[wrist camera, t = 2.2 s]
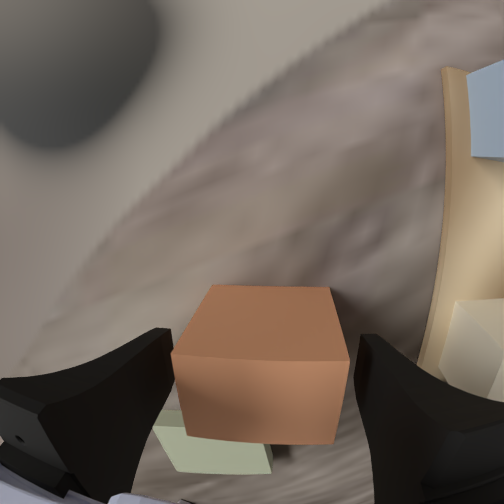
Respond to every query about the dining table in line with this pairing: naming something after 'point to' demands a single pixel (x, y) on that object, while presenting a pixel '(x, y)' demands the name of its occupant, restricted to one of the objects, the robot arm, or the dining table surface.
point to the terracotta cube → (262, 366)
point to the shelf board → (464, 225)
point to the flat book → (209, 450)
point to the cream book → (476, 348)
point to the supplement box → (183, 502)
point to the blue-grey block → (487, 111)
